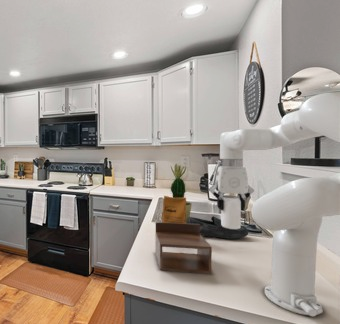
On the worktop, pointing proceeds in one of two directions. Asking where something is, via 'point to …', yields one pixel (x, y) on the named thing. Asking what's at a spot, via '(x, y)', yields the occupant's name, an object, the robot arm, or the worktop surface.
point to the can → (231, 212)
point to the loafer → (217, 228)
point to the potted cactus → (180, 194)
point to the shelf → (182, 238)
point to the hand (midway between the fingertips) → (230, 209)
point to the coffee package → (174, 210)
